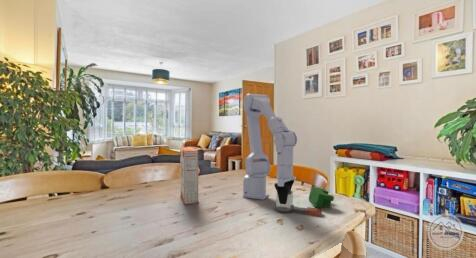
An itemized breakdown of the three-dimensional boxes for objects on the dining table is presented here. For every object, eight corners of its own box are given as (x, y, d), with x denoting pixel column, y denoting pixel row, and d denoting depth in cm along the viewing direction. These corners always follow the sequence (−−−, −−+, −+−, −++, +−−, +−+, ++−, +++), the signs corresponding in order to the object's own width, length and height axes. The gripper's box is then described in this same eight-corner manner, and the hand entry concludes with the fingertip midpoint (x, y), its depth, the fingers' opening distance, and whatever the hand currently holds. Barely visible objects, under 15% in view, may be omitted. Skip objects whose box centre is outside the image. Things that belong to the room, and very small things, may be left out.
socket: (276, 206, 92) (276, 192, 91) (279, 202, 96) (279, 189, 96) (290, 208, 90) (290, 194, 90) (292, 204, 94) (292, 191, 94)
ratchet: (272, 211, 91) (272, 200, 91) (277, 205, 98) (277, 195, 97) (320, 218, 85) (321, 206, 85) (322, 211, 92) (322, 200, 91)
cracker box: (179, 195, 110) (179, 147, 110) (193, 193, 112) (193, 146, 112) (182, 205, 97) (183, 150, 96) (198, 203, 99) (198, 150, 98)
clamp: (327, 219, 96) (336, 201, 92) (311, 215, 96) (320, 196, 92) (321, 198, 107) (329, 181, 103) (308, 194, 107) (315, 177, 103)
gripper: (292, 168, 84) (292, 209, 85) (299, 162, 98) (298, 197, 98) (271, 167, 87) (271, 206, 87) (280, 161, 100) (280, 195, 101)
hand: (284, 201), depth 93 cm, fingers closed on socket, 5 cm apart
